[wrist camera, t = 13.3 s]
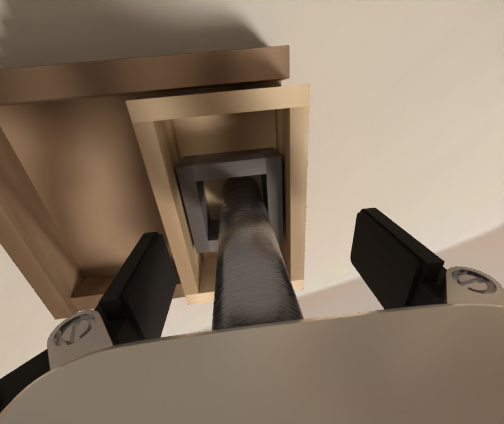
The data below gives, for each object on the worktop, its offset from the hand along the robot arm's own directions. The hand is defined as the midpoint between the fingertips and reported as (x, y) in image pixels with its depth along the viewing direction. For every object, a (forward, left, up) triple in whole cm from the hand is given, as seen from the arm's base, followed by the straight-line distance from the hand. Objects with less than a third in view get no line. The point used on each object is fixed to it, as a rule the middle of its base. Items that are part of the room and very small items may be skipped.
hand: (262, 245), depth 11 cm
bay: (+8, 0, -10) cm, 13 cm away
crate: (+1, 0, -9) cm, 9 cm away
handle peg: (+1, 0, -8) cm, 8 cm away
